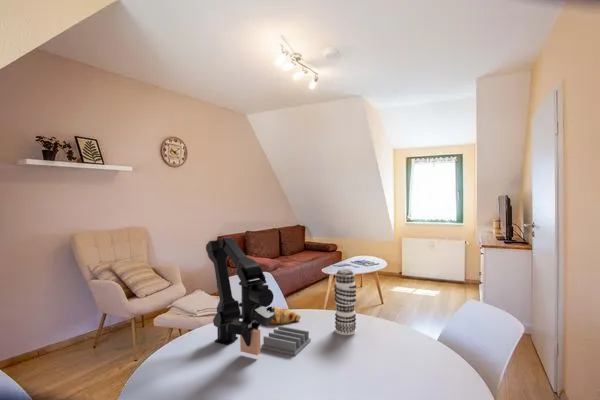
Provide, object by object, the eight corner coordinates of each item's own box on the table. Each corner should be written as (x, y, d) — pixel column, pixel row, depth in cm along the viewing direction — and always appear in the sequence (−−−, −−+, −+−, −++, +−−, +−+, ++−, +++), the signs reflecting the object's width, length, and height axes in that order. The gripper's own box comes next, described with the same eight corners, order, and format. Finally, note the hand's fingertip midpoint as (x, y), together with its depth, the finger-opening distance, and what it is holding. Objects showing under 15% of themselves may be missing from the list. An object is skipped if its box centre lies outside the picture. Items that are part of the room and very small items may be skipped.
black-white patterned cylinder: (353, 325, 140) (352, 267, 140) (359, 334, 131) (359, 272, 131) (332, 327, 139) (331, 268, 139) (337, 336, 129) (337, 273, 129)
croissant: (300, 326, 149) (300, 308, 153) (301, 323, 140) (301, 304, 144) (253, 326, 148) (254, 308, 152) (252, 323, 139) (253, 304, 143)
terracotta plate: (240, 351, 114) (240, 328, 114) (243, 349, 116) (243, 326, 116) (257, 355, 111) (257, 331, 111) (260, 352, 113) (260, 329, 113)
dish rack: (261, 348, 120) (261, 337, 120) (279, 334, 131) (278, 324, 131) (295, 355, 113) (295, 344, 113) (310, 341, 125) (310, 330, 125)
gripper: (254, 311, 101) (254, 361, 101) (283, 295, 118) (283, 338, 118) (225, 306, 106) (225, 354, 106) (257, 291, 123) (257, 333, 123)
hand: (250, 344), depth 113 cm, fingers closed on terracotta plate, 2 cm apart
